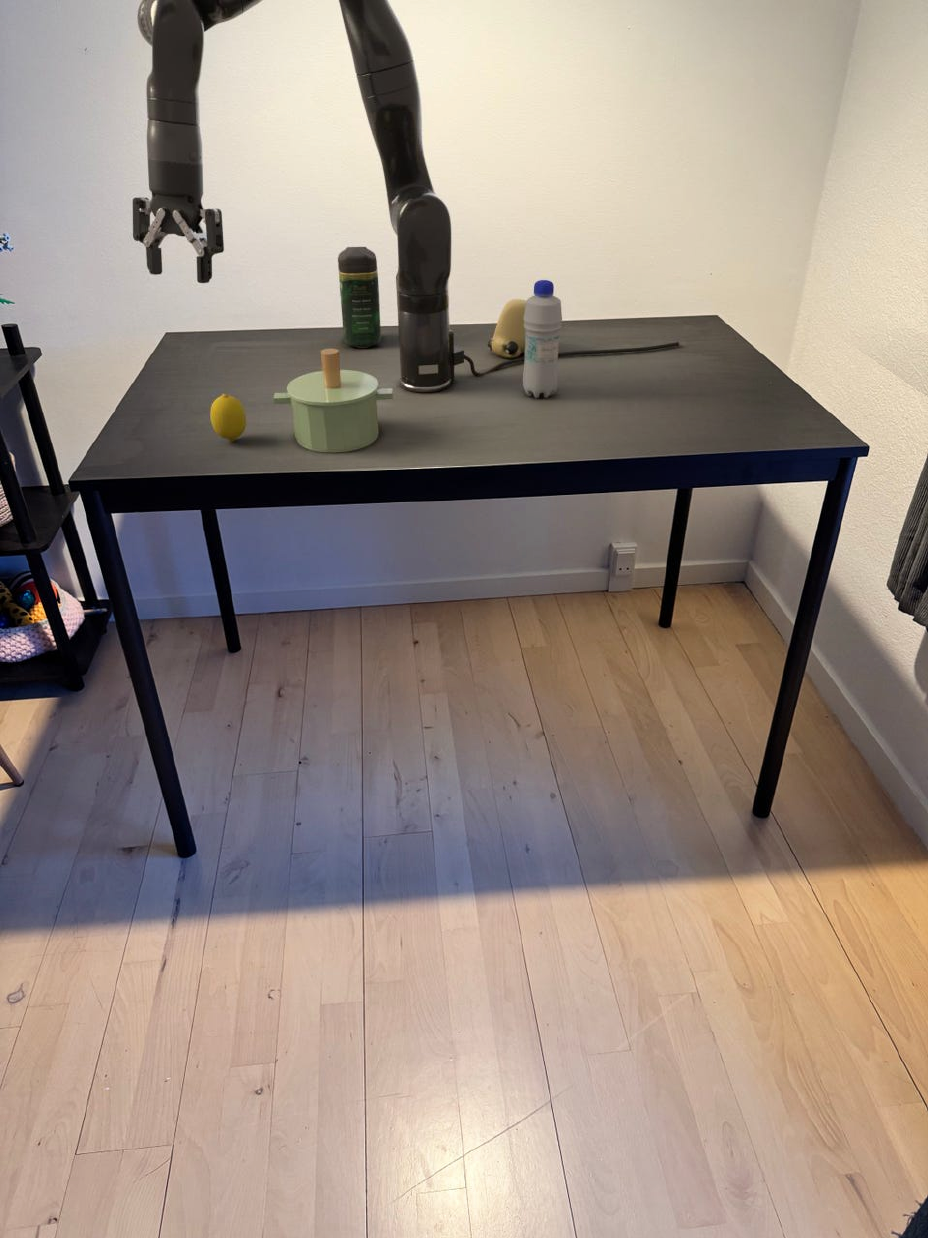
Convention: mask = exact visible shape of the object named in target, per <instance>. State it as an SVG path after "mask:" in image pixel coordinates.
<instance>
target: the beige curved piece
mask: <svg viewBox="0 0 928 1238" xmlns="http://www.w3.org/2000/svg"><path fill="white" fill-rule="evenodd" d="M526 301H527V299H523V298H512V299H510V300H508V301H507V302H506V303H505V304H504V306H503V308H502V310H501V313H500V315H499V317H498V320H497V323H496V326H495V329H494V333H493V337H492V338H490V339H489V340H488V342H487V348H488V350H490V351H491V352H492V353H493V354H495V355H496V356H499V357H502V358H505V359H516V358H518V357H519V356H520V355H521V354H525V332H526V330H525V328H524V314H525V308H526Z"/></svg>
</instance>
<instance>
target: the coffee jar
mask: <svg viewBox="0 0 928 1238" xmlns="http://www.w3.org/2000/svg"><path fill="white" fill-rule="evenodd" d="M337 264H338V265H337V267H338V279H339V293H340V294H339V295H340V306H341V319H342V331H343V332H342V333H343V341H344V344H345V345H346V346H348V347H354V348H358V349H368V348H369V347H374V346H378V345H380V343H381V339H382V333H381V331H382V330H381V314H380V313H381V311H380V285H379V275H378V274H379V272H378V260H377V256H376V253H375V252H374V251H373V250H371V249H369V248H368V247H367V246H347V247H346V248H345V249H343V250H342V251H340V253H339V254H338V256H337Z"/></svg>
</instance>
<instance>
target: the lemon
mask: <svg viewBox="0 0 928 1238" xmlns="http://www.w3.org/2000/svg"><path fill="white" fill-rule="evenodd" d="M209 419H210V422H211V425H212V428H213V431H214V432H215V433H216V434H217V436H219V437H221V438H222V439H226V440H228V441H229V442H235V440H236V439H237V438H239V437H241V436H242V435H243V433H244V432H245V430H246V427H247V415H246V412H245V409H244V406H243V405H242V402H240V401H239V400H238V399H237V398H236V397H234V396H233V395H228V394H227V393H222V394H221V395H220V396H219V397H217V398H216V399H214V400H213V402H212V404H211V407H210V417H209Z"/></svg>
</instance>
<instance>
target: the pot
mask: <svg viewBox="0 0 928 1238" xmlns="http://www.w3.org/2000/svg"><path fill="white" fill-rule="evenodd" d="M393 399H394V393H393V388H392V387H389V388H388V387H387V388H378V390H377V392H376V393H375V394H374V395H372V396H371V397H369V398H367V399H365V400H362V401H359V402H355V403H351V404H345V405H336V406H318V405H309V404H304V403H301V402H298V401H295V400H293V399H292V398H291V397H290V396H289V395H288V393H287V391H286V392H274V395H273V404H274V405H285V404H287V405H288V404H289V405H290V406H291V411H292V412H291V413H292V422H293V429H294V437H295V440H296V442H297V444H299V445H300V447H302V448H305V449H307V450H310V451H314V452H318V453H319V452H320V453H330V454H331V453H334V454H335V453H345V452H352V451H356V450H360V449H363V448H365V447H368V446H369V445H371V444H374V442H375V441H376V440H377V439H378V438H379V432H380V431H379V418H378V404H377V402H378V401H381V400H382V401H383V400H384V401H385V400H393Z"/></svg>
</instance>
